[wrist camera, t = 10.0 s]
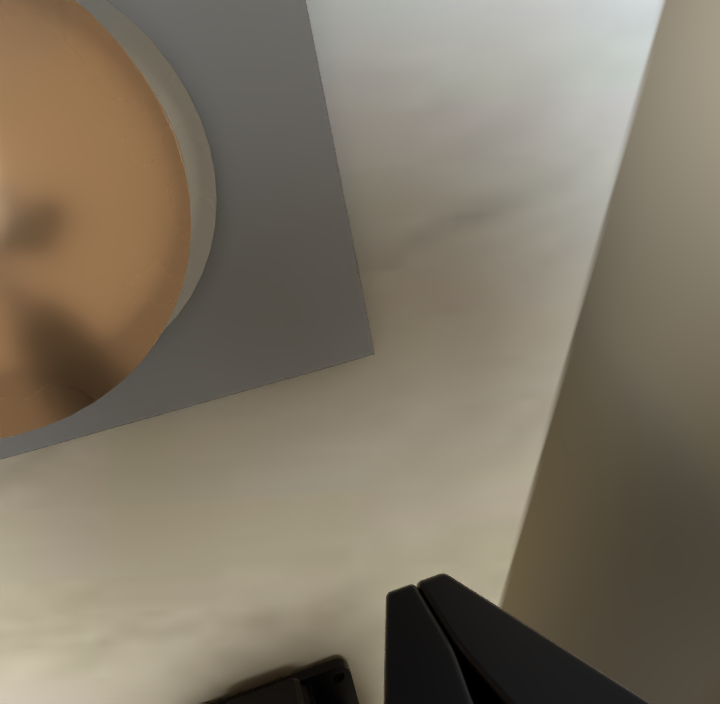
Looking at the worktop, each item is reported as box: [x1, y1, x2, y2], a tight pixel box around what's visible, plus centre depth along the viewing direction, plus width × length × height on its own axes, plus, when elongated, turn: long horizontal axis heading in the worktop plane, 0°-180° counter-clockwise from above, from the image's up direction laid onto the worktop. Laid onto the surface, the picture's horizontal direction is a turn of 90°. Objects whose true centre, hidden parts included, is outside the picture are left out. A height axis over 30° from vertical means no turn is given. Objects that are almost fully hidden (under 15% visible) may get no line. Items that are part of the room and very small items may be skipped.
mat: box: [0, 0, 374, 460], centre depth 16 cm, size 14×17×1 cm
